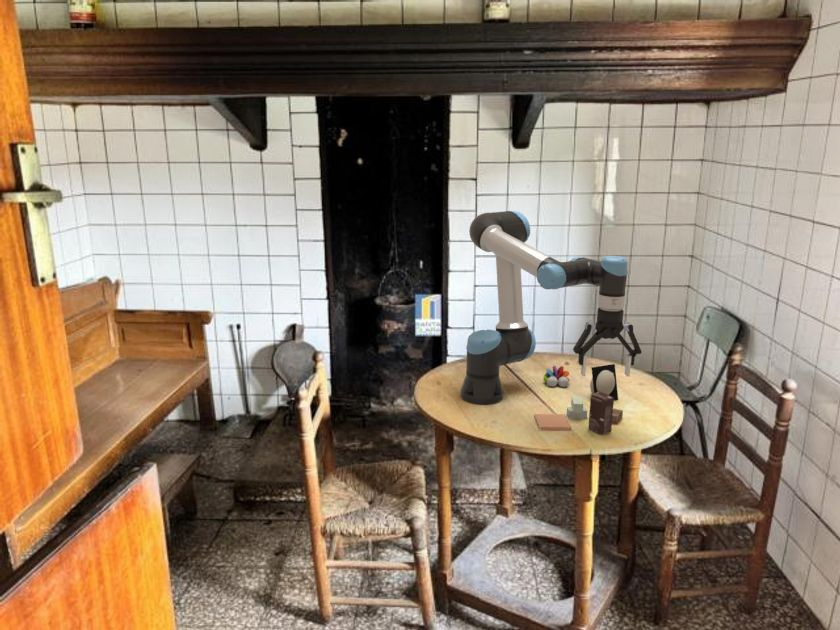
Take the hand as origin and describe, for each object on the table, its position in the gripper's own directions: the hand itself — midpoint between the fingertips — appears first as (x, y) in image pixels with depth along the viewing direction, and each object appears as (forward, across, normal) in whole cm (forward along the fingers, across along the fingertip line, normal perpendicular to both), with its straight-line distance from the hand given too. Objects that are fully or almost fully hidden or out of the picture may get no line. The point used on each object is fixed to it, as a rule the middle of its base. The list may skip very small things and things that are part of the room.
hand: (604, 375), depth 196 cm
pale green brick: (+16, -5, +10) cm, 20 cm away
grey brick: (+19, -5, +10) cm, 22 cm away
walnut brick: (+19, +7, +8) cm, 22 cm away
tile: (+19, -14, +5) cm, 24 cm away
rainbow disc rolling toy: (+19, -6, +40) cm, 45 cm away
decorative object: (+19, +7, +27) cm, 34 cm away
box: (+19, 0, 0) cm, 19 cm away
